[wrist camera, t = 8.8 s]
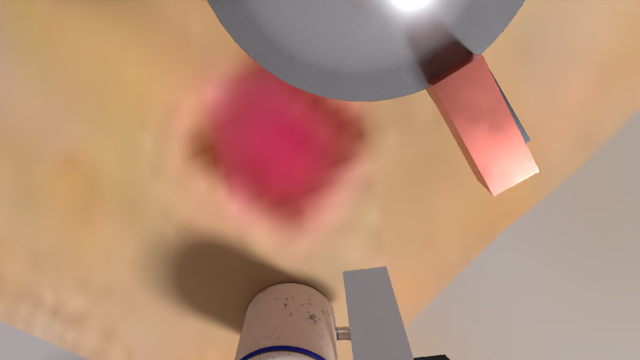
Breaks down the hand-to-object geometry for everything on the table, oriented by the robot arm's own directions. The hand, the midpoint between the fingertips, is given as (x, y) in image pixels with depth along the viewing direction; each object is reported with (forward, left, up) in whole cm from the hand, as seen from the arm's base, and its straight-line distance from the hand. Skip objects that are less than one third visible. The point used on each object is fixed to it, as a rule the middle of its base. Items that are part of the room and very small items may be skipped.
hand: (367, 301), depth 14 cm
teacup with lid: (+4, -17, -20) cm, 27 cm away
